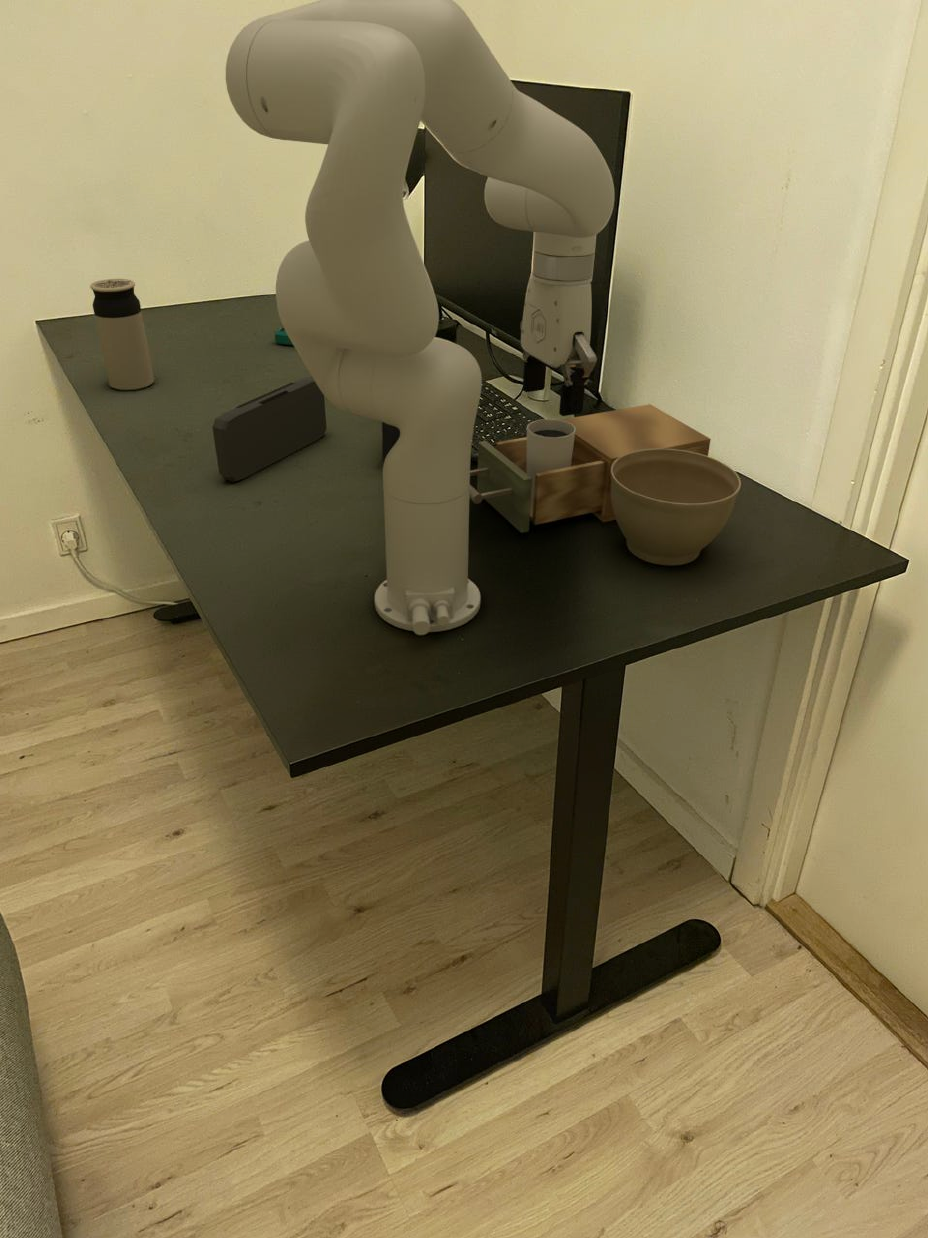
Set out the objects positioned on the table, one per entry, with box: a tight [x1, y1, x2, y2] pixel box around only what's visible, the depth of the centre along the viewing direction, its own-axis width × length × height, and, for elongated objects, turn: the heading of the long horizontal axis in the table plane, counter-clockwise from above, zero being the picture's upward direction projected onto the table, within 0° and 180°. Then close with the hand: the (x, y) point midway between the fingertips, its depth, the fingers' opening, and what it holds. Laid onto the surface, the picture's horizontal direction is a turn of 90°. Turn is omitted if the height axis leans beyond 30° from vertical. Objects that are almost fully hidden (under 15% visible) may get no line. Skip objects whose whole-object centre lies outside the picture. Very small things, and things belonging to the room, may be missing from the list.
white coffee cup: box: [526, 418, 576, 502], centre depth 126 cm, size 7×7×10 cm
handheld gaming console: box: [211, 376, 328, 483], centre depth 140 cm, size 23×3×10 cm, turn 149°
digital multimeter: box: [274, 326, 294, 346], centre depth 194 cm, size 7×15×3 cm, turn 171°
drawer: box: [469, 436, 607, 534], centre depth 126 cm, size 21×13×8 cm, turn 116°
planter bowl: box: [611, 449, 742, 566], centre depth 117 cm, size 16×16×11 cm
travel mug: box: [89, 278, 155, 391], centre depth 164 cm, size 8×8×18 cm
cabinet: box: [561, 403, 712, 523], centre depth 132 cm, size 17×15×10 cm
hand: (551, 401), depth 121 cm, fingers open, 9 cm apart
